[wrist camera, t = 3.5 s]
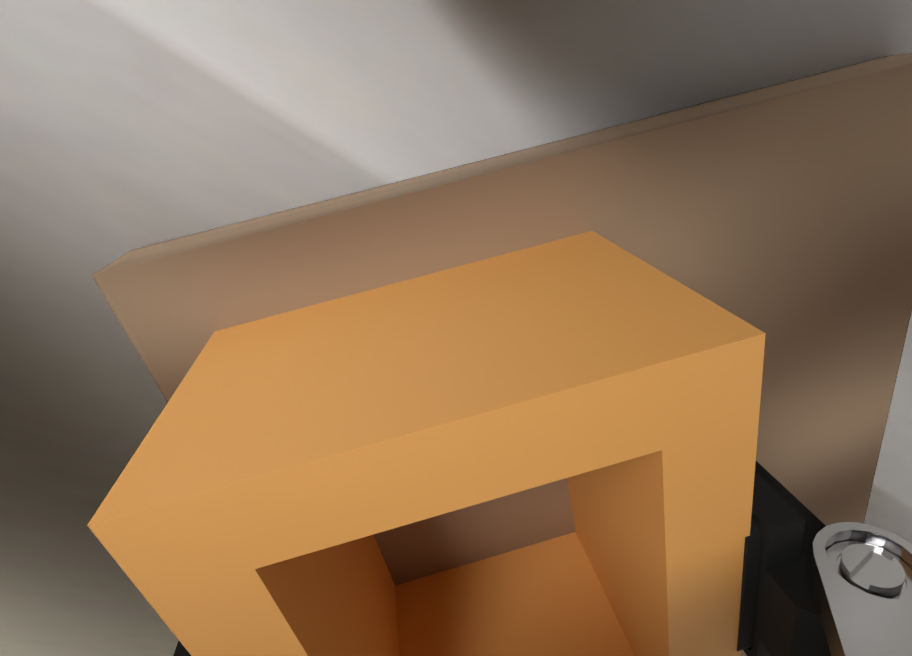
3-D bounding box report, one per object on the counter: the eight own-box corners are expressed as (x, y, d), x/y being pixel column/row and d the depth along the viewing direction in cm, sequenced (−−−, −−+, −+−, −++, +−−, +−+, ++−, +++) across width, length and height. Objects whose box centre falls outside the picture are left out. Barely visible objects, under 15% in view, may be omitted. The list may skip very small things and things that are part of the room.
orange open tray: (214, 331, 9) (87, 525, 5) (592, 230, 9) (765, 333, 5) (363, 627, 13) (360, 867, 9) (622, 549, 13) (733, 746, 9)
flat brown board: (130, 250, 9) (-440, 618, 3) (892, 55, 10) (1878, -26, 4) (416, 775, 19) (441, 1136, 13) (794, 655, 20) (1007, 933, 13)
